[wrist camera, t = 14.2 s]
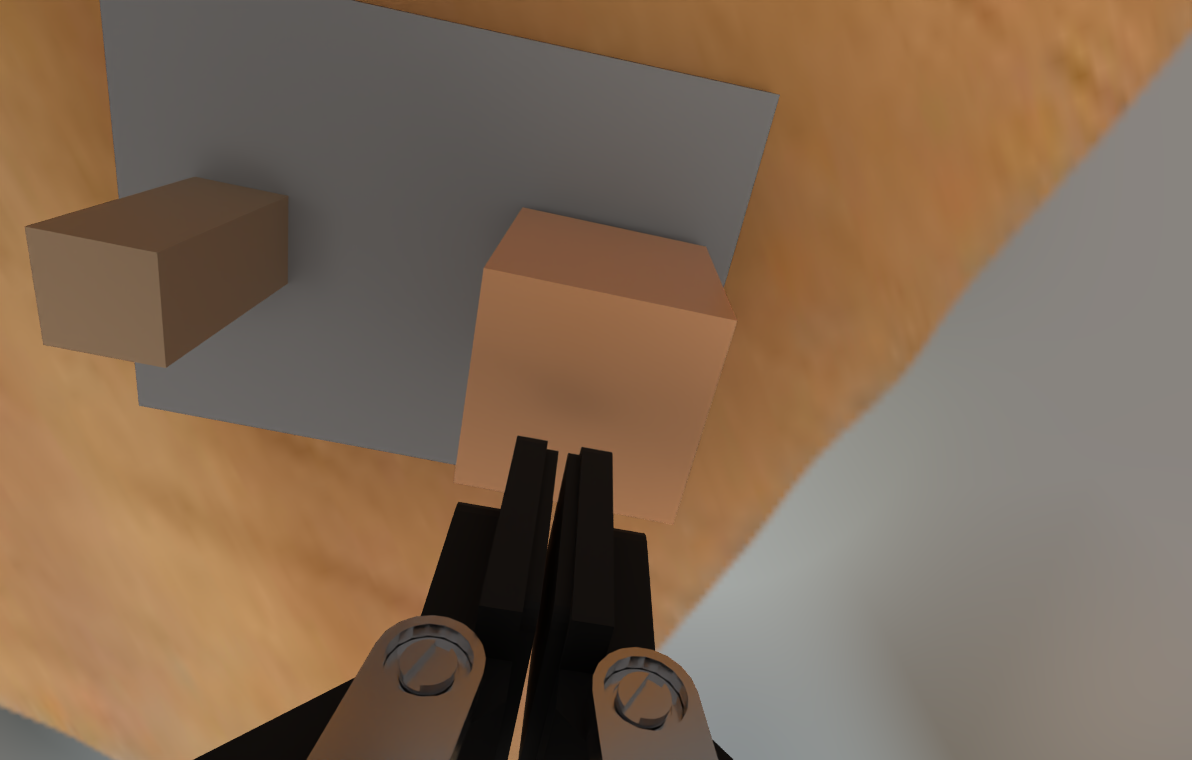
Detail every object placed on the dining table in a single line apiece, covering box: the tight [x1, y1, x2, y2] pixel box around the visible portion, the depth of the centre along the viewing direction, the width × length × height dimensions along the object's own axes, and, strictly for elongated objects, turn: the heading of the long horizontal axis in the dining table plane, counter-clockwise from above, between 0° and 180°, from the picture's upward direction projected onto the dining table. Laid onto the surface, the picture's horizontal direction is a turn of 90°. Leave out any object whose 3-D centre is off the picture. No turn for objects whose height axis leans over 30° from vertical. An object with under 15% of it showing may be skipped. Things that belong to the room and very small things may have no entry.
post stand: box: [25, 0, 780, 465], centre depth 21 cm, size 15×20×8 cm
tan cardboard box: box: [453, 207, 737, 525], centre depth 20 cm, size 6×6×7 cm
